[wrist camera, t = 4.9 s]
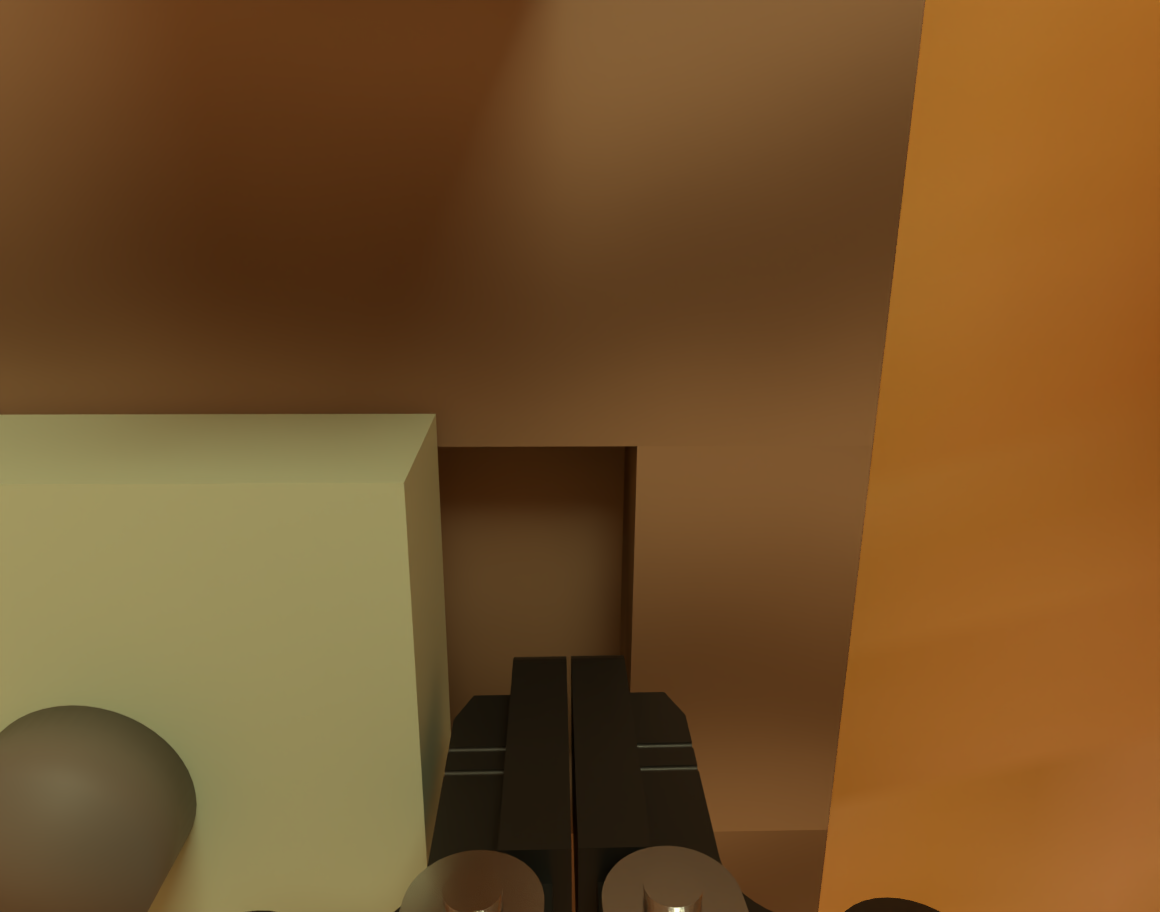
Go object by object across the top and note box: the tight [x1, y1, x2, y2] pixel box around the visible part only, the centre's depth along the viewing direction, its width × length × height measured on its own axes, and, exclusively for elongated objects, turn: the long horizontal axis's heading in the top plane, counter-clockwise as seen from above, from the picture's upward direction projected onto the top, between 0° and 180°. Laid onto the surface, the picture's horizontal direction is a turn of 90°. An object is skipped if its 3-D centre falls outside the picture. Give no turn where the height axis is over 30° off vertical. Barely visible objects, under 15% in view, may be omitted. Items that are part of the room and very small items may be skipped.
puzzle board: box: [0, 0, 925, 912], centre depth 12 cm, size 24×18×2 cm
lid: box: [0, 414, 451, 912], centre depth 11 cm, size 8×8×4 cm
